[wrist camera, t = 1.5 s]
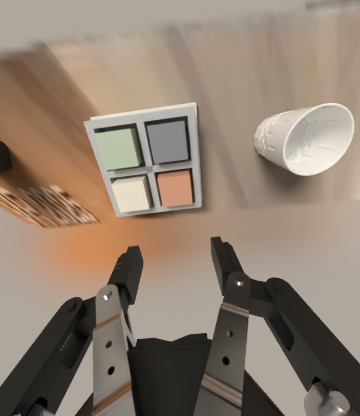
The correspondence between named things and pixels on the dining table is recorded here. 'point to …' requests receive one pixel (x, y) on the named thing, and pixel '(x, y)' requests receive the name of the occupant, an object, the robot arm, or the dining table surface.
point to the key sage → (119, 148)
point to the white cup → (306, 138)
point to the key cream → (132, 193)
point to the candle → (4, 158)
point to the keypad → (147, 166)
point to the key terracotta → (175, 188)
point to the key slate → (168, 142)
